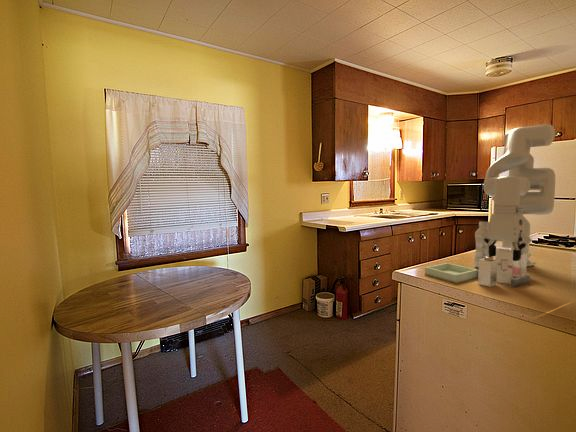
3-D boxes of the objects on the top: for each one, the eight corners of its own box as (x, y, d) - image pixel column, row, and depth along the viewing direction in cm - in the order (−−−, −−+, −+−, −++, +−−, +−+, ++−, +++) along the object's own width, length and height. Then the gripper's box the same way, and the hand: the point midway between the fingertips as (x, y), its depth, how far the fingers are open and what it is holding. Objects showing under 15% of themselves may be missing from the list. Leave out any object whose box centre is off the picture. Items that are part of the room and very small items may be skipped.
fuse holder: (502, 271, 121) (503, 247, 120) (539, 279, 110) (540, 253, 109) (466, 280, 110) (467, 254, 110) (503, 290, 99) (504, 261, 99)
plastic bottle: (492, 268, 127) (494, 221, 125) (489, 271, 122) (491, 223, 120) (475, 265, 131) (477, 220, 130) (471, 268, 126) (473, 222, 125)
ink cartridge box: (494, 276, 115) (495, 238, 114) (510, 278, 113) (512, 239, 111) (495, 282, 108) (497, 242, 107) (512, 284, 105) (514, 243, 104)
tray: (446, 269, 126) (447, 262, 125) (478, 277, 114) (478, 269, 114) (424, 274, 119) (425, 267, 119) (455, 283, 108) (455, 275, 108)
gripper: (540, 211, 102) (537, 262, 104) (486, 208, 117) (485, 253, 119) (528, 212, 99) (526, 264, 100) (475, 209, 114) (473, 255, 116)
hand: (503, 258), depth 110 cm, fingers closed on ink cartridge box, 7 cm apart
